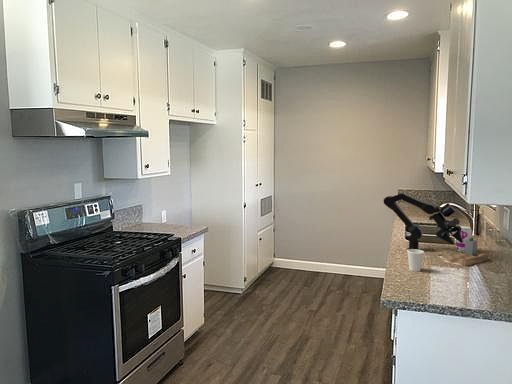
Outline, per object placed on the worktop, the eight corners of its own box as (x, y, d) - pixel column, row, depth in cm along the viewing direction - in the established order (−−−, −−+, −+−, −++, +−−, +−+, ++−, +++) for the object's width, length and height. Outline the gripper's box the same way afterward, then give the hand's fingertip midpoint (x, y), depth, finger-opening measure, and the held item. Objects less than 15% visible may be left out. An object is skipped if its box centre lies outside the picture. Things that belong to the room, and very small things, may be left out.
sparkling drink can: (466, 253, 259) (468, 228, 258) (453, 250, 266) (454, 226, 264) (472, 251, 265) (474, 227, 263) (459, 248, 271) (460, 225, 269)
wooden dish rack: (440, 261, 239) (441, 253, 239) (464, 255, 253) (464, 248, 252) (464, 267, 228) (465, 259, 227) (488, 261, 241) (488, 253, 241)
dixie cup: (403, 268, 226) (403, 249, 225) (415, 266, 229) (416, 248, 228) (414, 272, 218) (414, 253, 217) (427, 271, 221) (427, 252, 220)
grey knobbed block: (464, 258, 244) (465, 236, 243) (468, 257, 247) (469, 235, 245) (471, 260, 240) (473, 238, 239) (476, 258, 243) (477, 237, 242)
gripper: (441, 215, 247) (458, 237, 239) (459, 212, 257) (476, 233, 249) (428, 226, 254) (444, 248, 246) (446, 223, 264) (462, 244, 256)
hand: (457, 243), depth 249 cm, fingers open, 9 cm apart
